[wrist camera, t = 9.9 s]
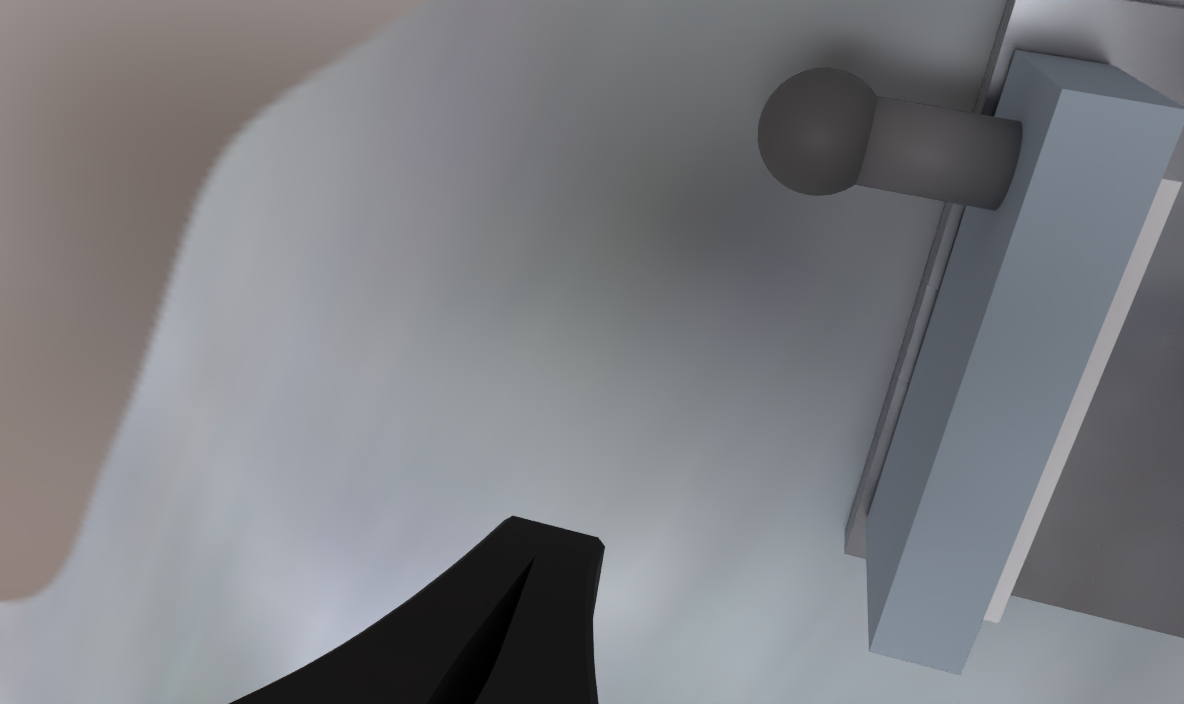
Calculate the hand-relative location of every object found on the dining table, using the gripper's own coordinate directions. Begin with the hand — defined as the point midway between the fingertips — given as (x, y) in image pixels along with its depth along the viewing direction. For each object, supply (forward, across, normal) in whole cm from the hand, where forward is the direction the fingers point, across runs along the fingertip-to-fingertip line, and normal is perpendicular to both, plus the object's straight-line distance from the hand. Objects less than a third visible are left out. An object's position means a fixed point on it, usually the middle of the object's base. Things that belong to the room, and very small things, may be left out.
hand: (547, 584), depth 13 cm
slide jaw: (+8, -4, -2) cm, 9 cm away
